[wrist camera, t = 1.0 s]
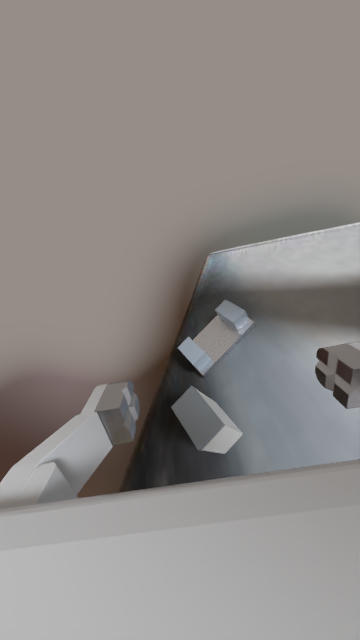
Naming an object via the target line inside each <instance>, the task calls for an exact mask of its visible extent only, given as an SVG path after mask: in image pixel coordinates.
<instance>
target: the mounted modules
mask: <svg viewBox="0 0 360 640" xmlns="http://www.w3.org/2000/svg"><path fill="white" fill-rule="evenodd" d="M215 311H216V313H217V315H218V316H219V318H220V319H221V320H223V321H224V322H226V323H227V324H229V325H230V326H232V327H233V328H235V329H236V330H237V331H239V330H240V329H241V328H242V327H243V326H244V325H245V324H246V323H247V322H248V321H249V318H248V316H247V313H246V311H245V310H243V309H242V308H240V307H238V306H236V305H234V304H233V303H231V302H229V301H227V300H226V299H225V300H224V301H223V302H222V303H221V304H220V305H219V306H218V307H217V308H216V309H215ZM178 349H179V350H180V351H181V352H182V353H183V354H184V355H185V357H186V358H187V359H188V360H189V361H190V362H191V363H192V364H193V365H194V366H195V367H196V368H197V369H198V370H201V369H202V368H203V367H204V366H205V365H206V364H207V363H208V362H209V361H210V360H211V358H210V357H209V356H208V355H207V354H206V353H205V352H204V351H203V350H202V349H201V348H200V347H199V346H198V345H197V344H196V343H195V342H194V341H193V340H191V339H190V338H189V337H188V338H187V339H186V340H185V341H184V342H183V343H182V344H181V345H180V346H179V347H178Z"/></svg>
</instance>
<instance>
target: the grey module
mask: <svg viewBox="0 0 360 640" xmlns="http://www.w3.org/2000/svg"><path fill="white" fill-rule="evenodd" d="M171 408H172V410H173V411H174V413H175V414H176V416H177V418H178V419H179V421H180V422H181V424H182V426H183V427H184V429H185V430H186V432H187V433H188V435H189V437H190V438H191V440H192V441H193V443H194V445H195V446H196V448H197V449H198V450H199V451H202V450H203V451H210V452H216V453H223V454H225V453H226V452H227V451H228V450H229V449H230V448H231V446H232V445H233V444H234V443H235V442H236V441H237V440H238V439H239V438H240V437H241V436H242V435H243V433H242V432H241V431H240V430H239V429H238V428H237V427H236V425H235V424H234V423H233V422H232V421H231V420H230V418H229V417H228V416H227V415H226V414H225V413H224V411H223V410H222V409H221V408H220V407H219V406H218V404H217V403H216V402H214V401H213V400H211V399H210V398H209V397H207V396H206V395H204V394H203V393H201V392H200V391H198V390H197V389H195V388H194V387H193V386H191V387H190V388H189V389H188V390H187V391H186V392H185V393H184V394H183V395H182V396H181V397H180V398H179V399H178V400H177V401H176V402H175V403H174V405H173V406H172V407H171Z"/></svg>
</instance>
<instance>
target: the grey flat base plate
mask: <svg viewBox="0 0 360 640" xmlns="http://www.w3.org/2000/svg"><path fill="white" fill-rule="evenodd" d="M255 326H256V324H255V322H254V321H253V320H251V319H249V321H248V322H247V323H246V324H245V325H244V326H243V327H242V328H241V329H240V330H239V331H237V330H236V329H235V328H233V327H232V326H230V325H229V324H227V323H226V322H224V321H223V320H221V319H220V318H219V316H218V315H217V316H216V317H215V318H214V319H213V320H212V321H211V322H210V323H209V324H208V325H207V326H206V327H205V328H204V329H203V330H202V331H201V332H200V333H199V334H198V335H197V336H196V337H195V338H194V339H193V341H194V342H195V343H196V344H197V345H198V346H199V347H200V348H201V349H202V350H203V351H204V352H205V353H206V354H207V355H208V356H209V357H210V358H211V360H210V361H209V362H208V363H207V364H206V365H205V366H204V367H203V368H202V369H201V370H198V369H197V368H196V367H195V366H194V367H195V368H196V369H197V370H198V371H199V372H200V373H201V374H202V375H203V376H204V377H205V378H206V377H207V376H208V375H209V374H210V372H211V371H212V370H213V369H214V368H215V367H216V366H217V365H218V364H219V363H220V362H221V361H222V360H223V359H224V358H225V357H226V356H227V355H228V354H229V353H230V352H231V351H232V350H233V349H234V348H235V346H236V345H237V344H238V343H239V342H240V341H241V340H242V339H243V338H244V337H245V336H246V335H247V334H248V333H249V332H250V331H251V330H252V329H253V328H254V327H255ZM183 355H184V354H183ZM184 356H185V355H184Z"/></svg>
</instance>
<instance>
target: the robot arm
mask: <svg viewBox="0 0 360 640" xmlns="http://www.w3.org/2000/svg"><path fill="white" fill-rule="evenodd" d="M316 357H317V358H318V360H319V362H318V363H317V365H316V369H315V373H316V376H317V379H318V380H319V382H320V383H321V384H322V385H323V386H324V387H325V388H326V389H329V390H331V391H333V396H334V397H335V398H336V399H337V400H338V401H339V402H340V403H341V404H342V405H343V406H344V407H345V408H346V409H350V408H358V407H360V342H358V341H355V342H350V343H345V344H342V345H336V346H331V347H325V348H319V349H318V351H317V356H316ZM133 391H134V386H133V383H132V381H123V382H116V383H110V384H103V385H98V386H96V387H95V389H94V391H93V392H92V394H91V396H90V398H89V400H88V401H87V403H86V405H85V407H84V409H83V410H82V412H81V414H80V415H76V416H75V417H74V418H72V419H71V420H70V421H69V422H67V423H66V424H65V425H64V426H62V427H61V428H60V429H59V430H58V431H56V432H55V433H54V434H52V435H51V436H50V437H49V438H48V439H46V440H45V441H44V442H43V443H41V444H40V445H39V446H38V447H36V448H35V449H34V450H33V451H31V452H30V453H29V454H28V455H26V456H25V457H24V458H23V459H21V460H20V461H19V462H18V463H16V464H15V465H14V466H13V467H12V468H11V469H10V470H9V472H8V473H7V475H6V476H5V477H4V479H3V480H2V482H1V483H0V640H360V459H357V460H350V461H343V462H336V463H329V464H322V465H315V466H307V467H300V468H293V469H286V470H279V471H271V472H264V473H257V474H250V475H243V476H235V477H228V478H221V479H214V480H207V481H199V482H192V483H185V484H178V485H171V486H164V487H156V488H149V489H142V490H135V491H128V492H121V493H114V494H107V495H99V496H92V497H85V498H78V496H77V494H78V493H79V491H80V490H81V488H82V487H83V486H84V485H85V483H86V482H87V481H88V479H89V478H90V476H91V475H92V474H93V473H94V471H95V470H96V468H97V467H98V466H99V464H100V463H101V462H102V460H103V459H104V458H105V456H106V455H107V454H108V452H109V451H110V450H111V448H112V447H113V446H112V445H118V444H123V443H128V442H133V440H134V435H135V431H136V424H135V421H136V419H138V417H139V409H140V406H139V399H138V397H137V395H136V394H134V393H133Z"/></svg>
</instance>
